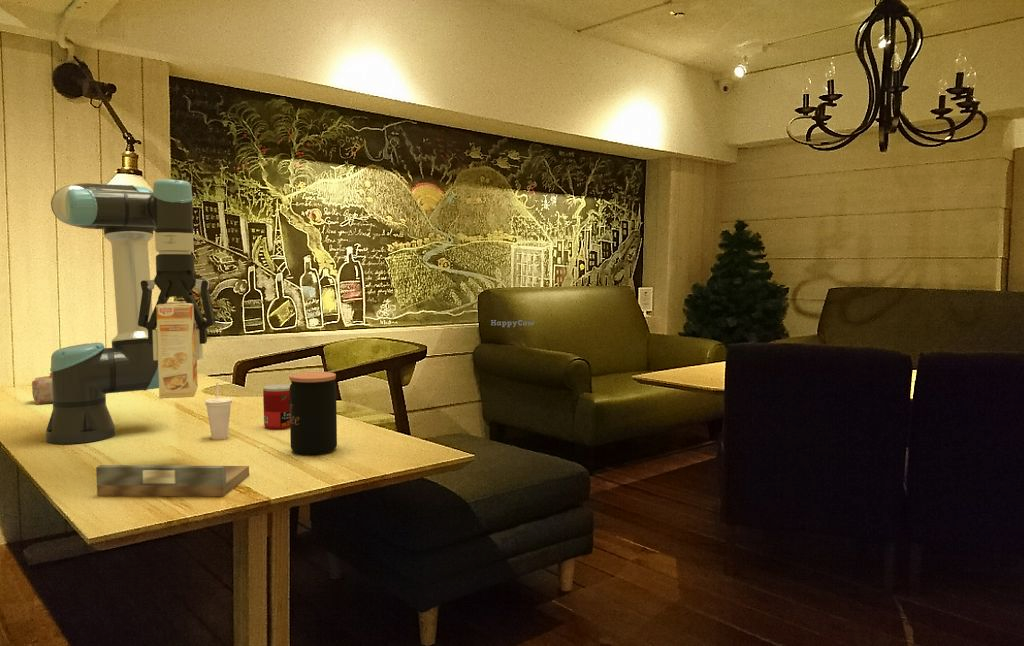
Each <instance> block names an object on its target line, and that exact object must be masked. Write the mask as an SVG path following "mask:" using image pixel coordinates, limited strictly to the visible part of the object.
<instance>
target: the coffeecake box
mask: <svg viewBox="0 0 1024 646" xmlns="http://www.w3.org/2000/svg"><path fill="white" fill-rule="evenodd" d="M155 306H156V310H157V328H156V329H157V339H158V372H159V388H158V391H159V392H158V394H159V397H158V398H159V399H160V400H161V399H178V398H181V399H182V398H195V396H196V394H197V390H198V386H199V385H198V384H199V383H198V360H196V354H195V329H197V323H196V321H195V319H194V306H193V304H191V303H186V301H185V300H184V301H179V300H178V301H167V303H165V304H158V305H156V304H155Z"/></svg>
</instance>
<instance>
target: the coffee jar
mask: <svg viewBox="0 0 1024 646" xmlns="http://www.w3.org/2000/svg"><path fill="white" fill-rule="evenodd" d="M336 378H337V374H336V373H335V372H329V371H307V372H306V371H304V372H297V373H292V374H290V375H289V381H290V383H291V384H289V385H290V388H289V389H290V428H289V429H290V431H289V434H290V437H289V438H290V449H291V450H292V452H293V453H294V454H296V455H299V456H319V455H325V454H330V453H333V451H335V449H336V448H337V446H338V431H337V430H338V422H337V421H338V420H337V419H338V417H337V416H338V415H337V384H336V382H335V380H336Z"/></svg>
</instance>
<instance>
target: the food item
mask: <svg viewBox="0 0 1024 646" xmlns="http://www.w3.org/2000/svg"><path fill="white" fill-rule="evenodd" d="M31 386H32V388H31V389H32V390H31V392H32V398H33V400H34V402H35V403H36V404H37V405H50V404H53V400H52V373H51V372H49V375H47V376H39V377H35V378H34V380H32V382H31Z"/></svg>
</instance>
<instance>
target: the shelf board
mask: <svg viewBox="0 0 1024 646" xmlns="http://www.w3.org/2000/svg"><path fill="white" fill-rule="evenodd" d="M95 474H96V496H99V497H100V496H101V497H105V496H106V497H107V496H108V497H109V496H111V497H113V496H114V497H115V496H116V497H122V496H123V497H129V496H130V497H147V496H148V497H224V496H226V495H227V494H228V493H229V492H231V491H232V490H233V489H234V488H235V487H237V486H238V485H240V484H241V483H242V482H243V481H244V480H245V479H247V478H248V477H250V465H174V464H173V465H172V464H170V465H154V464H153V465H148V464H147V465H145V464H140V465H139V464H135V465H134V464H133V465H132V464H127V465H126V464H125V465H124V464H122V465H121V464H119V465H118V464H115V465H114V464H99V465H97V466H96V467H95Z"/></svg>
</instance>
